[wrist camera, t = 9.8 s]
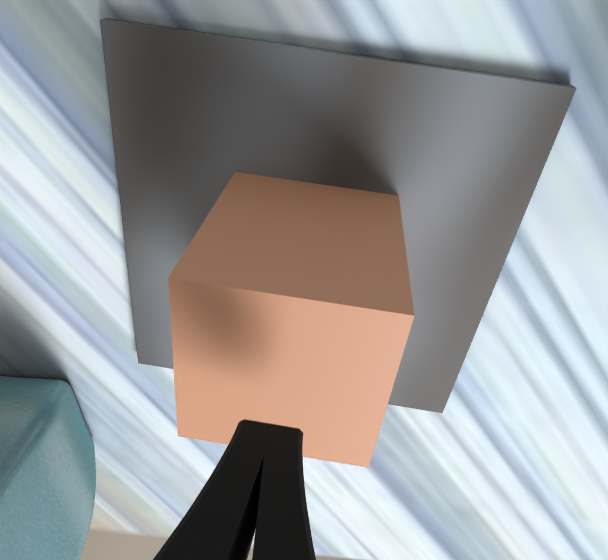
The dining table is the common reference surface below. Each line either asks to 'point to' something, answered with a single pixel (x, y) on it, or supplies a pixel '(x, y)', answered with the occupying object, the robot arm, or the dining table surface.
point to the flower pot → (44, 471)
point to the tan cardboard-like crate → (292, 315)
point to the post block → (327, 166)
